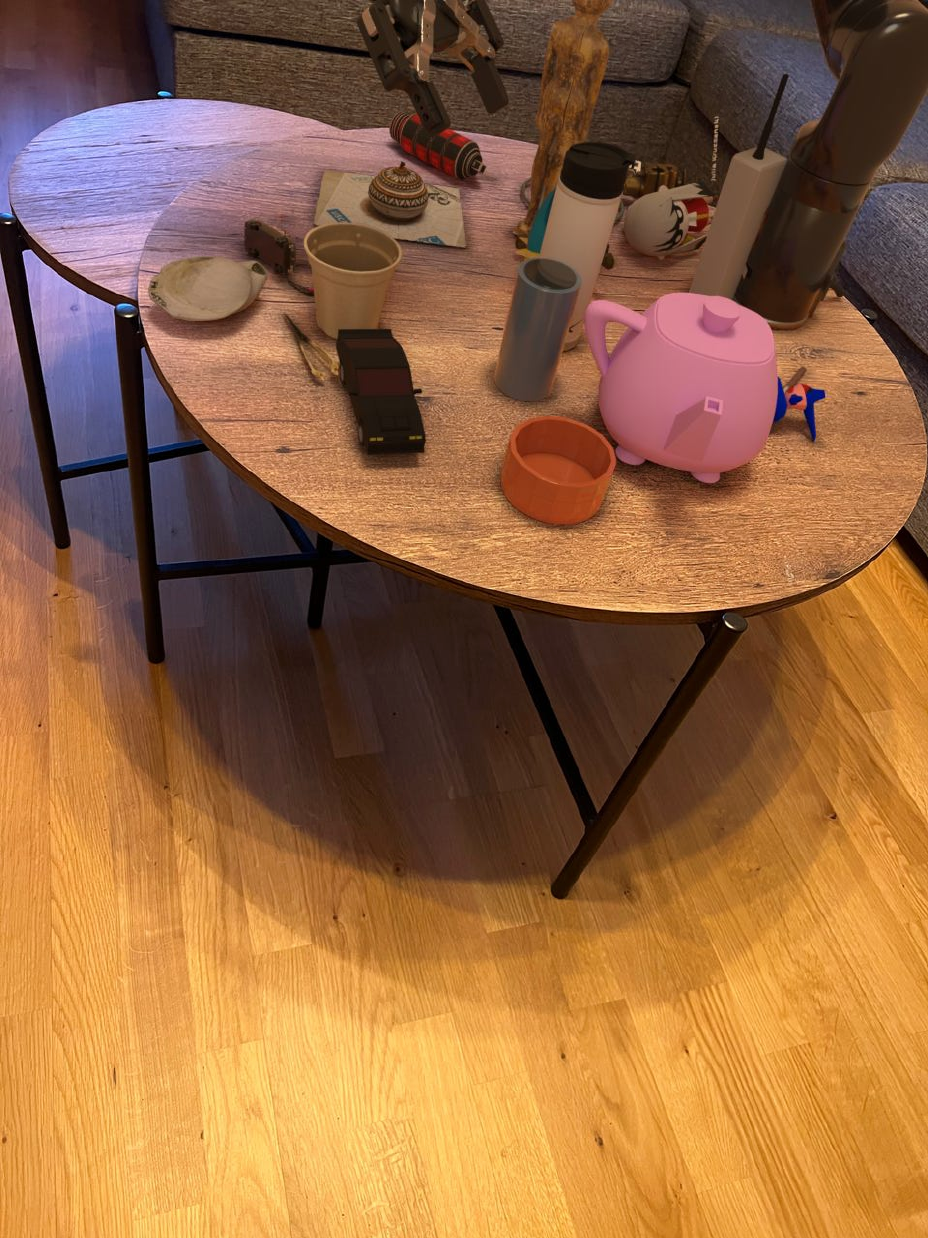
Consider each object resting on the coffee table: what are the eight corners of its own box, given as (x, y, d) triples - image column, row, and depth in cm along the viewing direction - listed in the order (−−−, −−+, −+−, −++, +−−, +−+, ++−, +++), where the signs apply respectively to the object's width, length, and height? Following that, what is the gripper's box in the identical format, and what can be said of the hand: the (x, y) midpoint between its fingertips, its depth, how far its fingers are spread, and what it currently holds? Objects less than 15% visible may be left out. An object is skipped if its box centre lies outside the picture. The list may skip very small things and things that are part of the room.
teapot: (541, 490, 88) (584, 347, 77) (563, 367, 101) (602, 230, 90) (753, 541, 88) (827, 406, 77) (747, 412, 101) (809, 281, 90)
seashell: (288, 285, 95) (285, 327, 99) (251, 235, 98) (249, 278, 102) (171, 308, 89) (172, 351, 93) (135, 254, 93) (138, 298, 97)
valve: (568, 192, 133) (573, 152, 130) (677, 197, 133) (684, 158, 130) (573, 208, 127) (578, 167, 124) (686, 213, 128) (694, 173, 125)
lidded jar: (466, 250, 113) (475, 192, 109) (310, 227, 111) (313, 166, 107) (465, 201, 125) (474, 146, 120) (324, 179, 123) (327, 122, 118)
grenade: (421, 118, 131) (508, 163, 126) (404, 153, 132) (490, 199, 127) (396, 99, 125) (487, 145, 120) (379, 136, 126) (468, 183, 121)
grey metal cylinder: (535, 362, 101) (563, 253, 92) (562, 397, 98) (593, 288, 89) (483, 369, 99) (507, 258, 90) (509, 405, 96) (536, 294, 87)
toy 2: (736, 246, 124) (662, 269, 116) (675, 239, 130) (601, 261, 122) (745, 114, 116) (667, 130, 108) (680, 114, 122) (601, 128, 114)
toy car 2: (357, 467, 86) (362, 422, 82) (326, 361, 95) (330, 316, 92) (430, 464, 88) (438, 419, 84) (393, 359, 97) (398, 315, 93)
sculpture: (572, 242, 120) (646, -40, 97) (548, 260, 116) (619, -29, 93) (525, 220, 121) (586, -62, 99) (499, 237, 117) (558, -52, 95)
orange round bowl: (570, 447, 93) (582, 409, 90) (620, 513, 88) (635, 475, 85) (483, 463, 89) (492, 424, 86) (530, 533, 84) (541, 494, 81)
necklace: (292, 300, 102) (292, 292, 101) (282, 265, 105) (282, 256, 105) (331, 299, 103) (332, 291, 102) (320, 264, 107) (320, 256, 106)
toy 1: (543, 268, 122) (475, 290, 111) (553, 167, 115) (483, 181, 105) (639, 290, 116) (577, 316, 105) (656, 185, 109) (592, 201, 99)
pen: (771, 413, 102) (775, 406, 101) (764, 410, 102) (768, 402, 101) (808, 369, 109) (812, 362, 108) (801, 366, 109) (805, 359, 108)
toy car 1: (282, 241, 100) (345, 234, 104) (221, 204, 106) (283, 199, 111) (280, 279, 102) (342, 271, 107) (220, 240, 108) (281, 234, 113)
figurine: (765, 389, 96) (744, 428, 99) (837, 407, 97) (813, 445, 100) (759, 362, 99) (738, 401, 102) (828, 380, 100) (805, 417, 103)
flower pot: (291, 300, 101) (294, 220, 95) (379, 298, 104) (388, 221, 98) (310, 354, 96) (315, 273, 89) (403, 350, 99) (413, 272, 92)
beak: (275, 318, 99) (273, 306, 98) (300, 311, 100) (298, 299, 99) (317, 387, 93) (315, 374, 92) (343, 379, 93) (341, 367, 92)
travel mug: (576, 359, 103) (633, 171, 88) (516, 342, 103) (563, 152, 88) (584, 329, 107) (640, 145, 92) (526, 313, 107) (572, 126, 92)
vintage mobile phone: (736, 299, 117) (818, 75, 98) (711, 311, 114) (790, 83, 96) (712, 285, 118) (788, 62, 100) (687, 296, 116) (760, 69, 97)
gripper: (353, -98, 73) (450, 119, 78) (466, -116, 81) (547, 82, 86) (298, -40, 78) (392, 159, 84) (409, -62, 87) (489, 120, 92)
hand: (471, 120), depth 85 cm, fingers open, 8 cm apart
